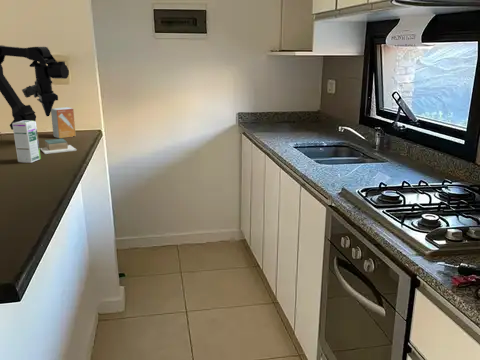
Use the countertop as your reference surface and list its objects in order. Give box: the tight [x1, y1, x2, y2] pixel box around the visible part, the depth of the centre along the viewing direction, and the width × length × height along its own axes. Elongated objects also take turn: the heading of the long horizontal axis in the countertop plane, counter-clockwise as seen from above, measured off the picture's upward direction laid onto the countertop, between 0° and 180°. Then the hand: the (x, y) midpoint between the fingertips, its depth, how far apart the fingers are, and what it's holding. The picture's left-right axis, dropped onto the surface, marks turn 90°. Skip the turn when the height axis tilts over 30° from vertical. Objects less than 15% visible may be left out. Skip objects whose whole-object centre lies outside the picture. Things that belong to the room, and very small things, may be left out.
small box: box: [50, 106, 77, 139], centre depth 212 cm, size 8×6×13 cm
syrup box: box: [11, 120, 42, 164], centre depth 167 cm, size 6×6×14 cm
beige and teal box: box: [44, 138, 69, 150], centre depth 188 cm, size 3×7×8 cm
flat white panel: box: [39, 144, 77, 155], centre depth 187 cm, size 10×12×1 cm
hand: (47, 116), depth 194 cm, fingers closed
